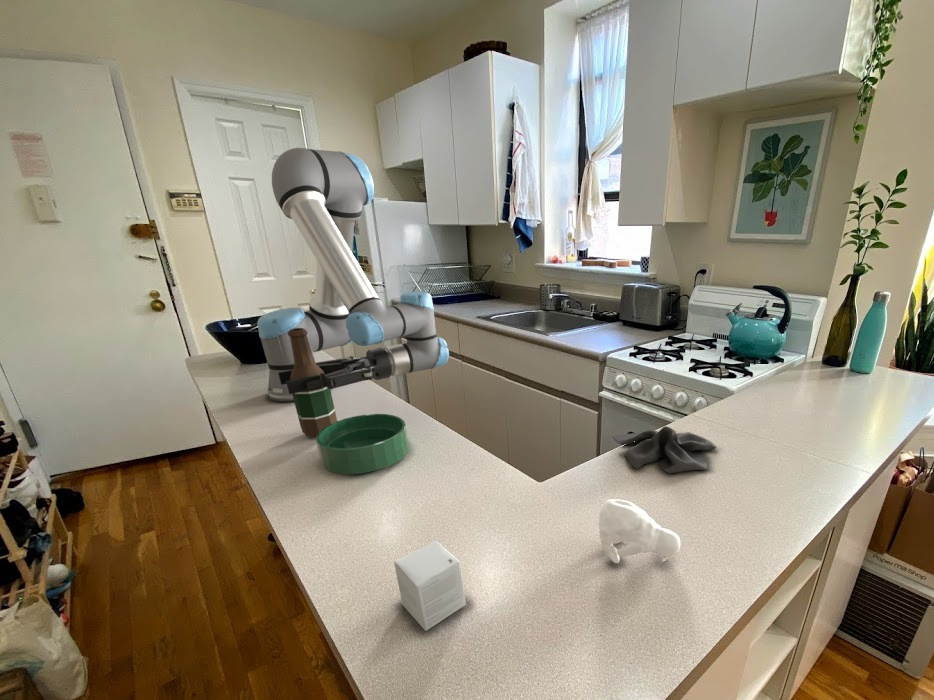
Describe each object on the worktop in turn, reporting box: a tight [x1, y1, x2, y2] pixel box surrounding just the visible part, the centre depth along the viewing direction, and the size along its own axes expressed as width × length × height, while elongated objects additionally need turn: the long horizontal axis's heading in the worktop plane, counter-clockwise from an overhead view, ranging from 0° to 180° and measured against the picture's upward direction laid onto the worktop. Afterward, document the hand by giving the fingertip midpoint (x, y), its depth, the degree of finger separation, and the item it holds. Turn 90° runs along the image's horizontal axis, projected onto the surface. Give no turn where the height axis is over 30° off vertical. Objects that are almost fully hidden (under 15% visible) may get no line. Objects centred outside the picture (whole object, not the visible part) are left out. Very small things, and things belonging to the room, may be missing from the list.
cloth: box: [611, 425, 717, 474], centre depth 97 cm, size 22×19×6 cm
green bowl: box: [315, 413, 410, 475], centre depth 97 cm, size 17×17×6 cm
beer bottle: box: [288, 328, 338, 438], centre depth 104 cm, size 8×8×24 cm
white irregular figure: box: [598, 499, 681, 564], centre depth 67 cm, size 6×8×12 cm
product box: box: [393, 540, 467, 632], centre depth 59 cm, size 6×6×7 cm
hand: (283, 383), depth 100 cm, fingers closed on beer bottle, 7 cm apart
